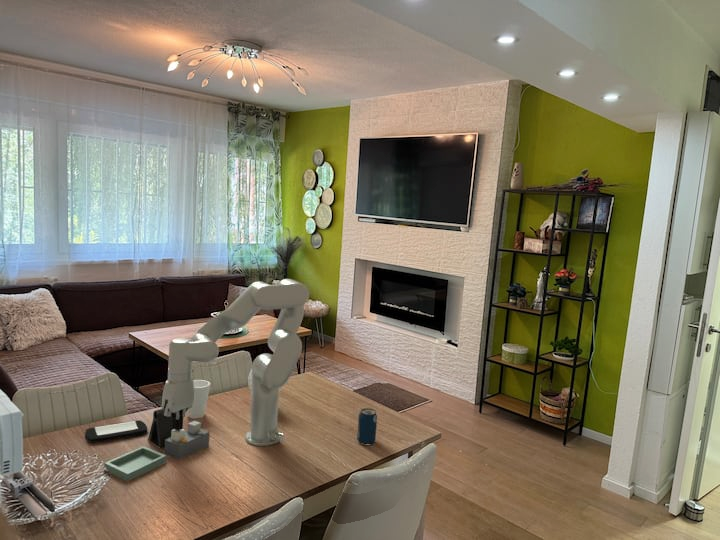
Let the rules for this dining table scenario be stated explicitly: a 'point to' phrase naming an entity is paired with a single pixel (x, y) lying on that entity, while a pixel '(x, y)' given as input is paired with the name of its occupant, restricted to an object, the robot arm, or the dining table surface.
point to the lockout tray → (135, 463)
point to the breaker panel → (187, 444)
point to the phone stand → (160, 428)
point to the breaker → (194, 427)
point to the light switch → (115, 431)
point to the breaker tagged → (177, 435)
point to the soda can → (367, 426)
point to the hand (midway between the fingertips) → (177, 428)
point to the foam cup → (199, 399)
